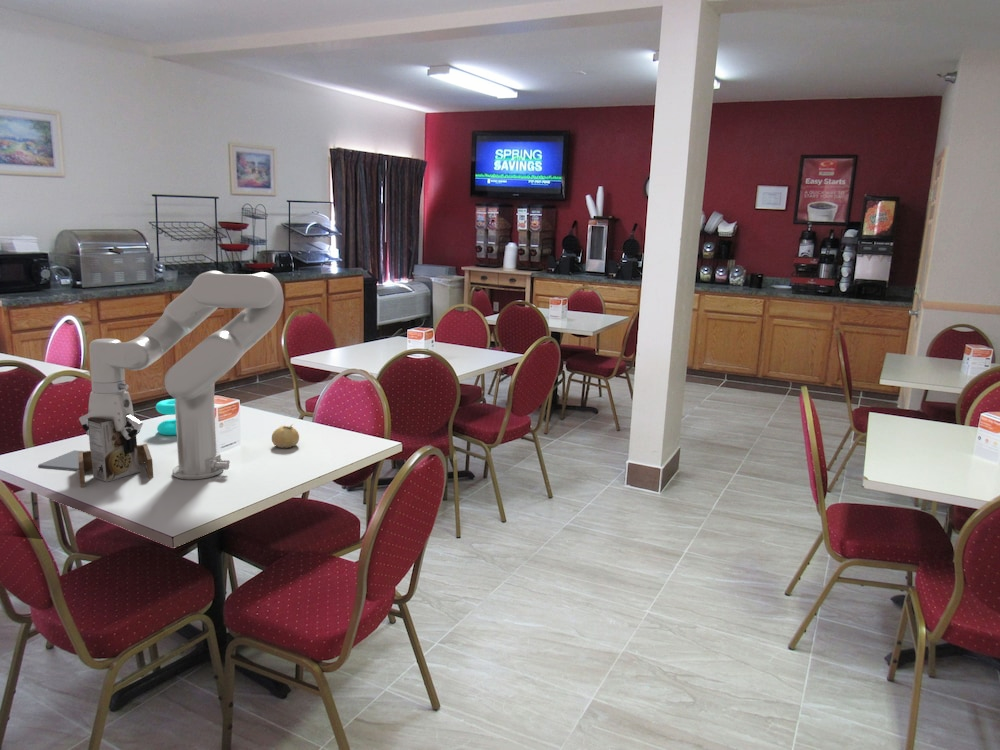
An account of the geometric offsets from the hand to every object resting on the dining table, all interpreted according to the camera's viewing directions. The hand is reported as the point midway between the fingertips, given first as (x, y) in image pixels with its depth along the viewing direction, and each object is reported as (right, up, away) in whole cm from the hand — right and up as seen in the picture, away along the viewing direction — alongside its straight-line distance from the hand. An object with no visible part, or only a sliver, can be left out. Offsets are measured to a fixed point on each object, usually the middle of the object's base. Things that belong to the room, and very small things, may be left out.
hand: (112, 450), depth 181 cm
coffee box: (0, -7, +1) cm, 7 cm away
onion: (+36, -2, +30) cm, 47 cm away
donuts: (-3, +1, +41) cm, 41 cm away
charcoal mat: (-16, -4, +11) cm, 19 cm away
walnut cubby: (0, -6, +2) cm, 7 cm away
